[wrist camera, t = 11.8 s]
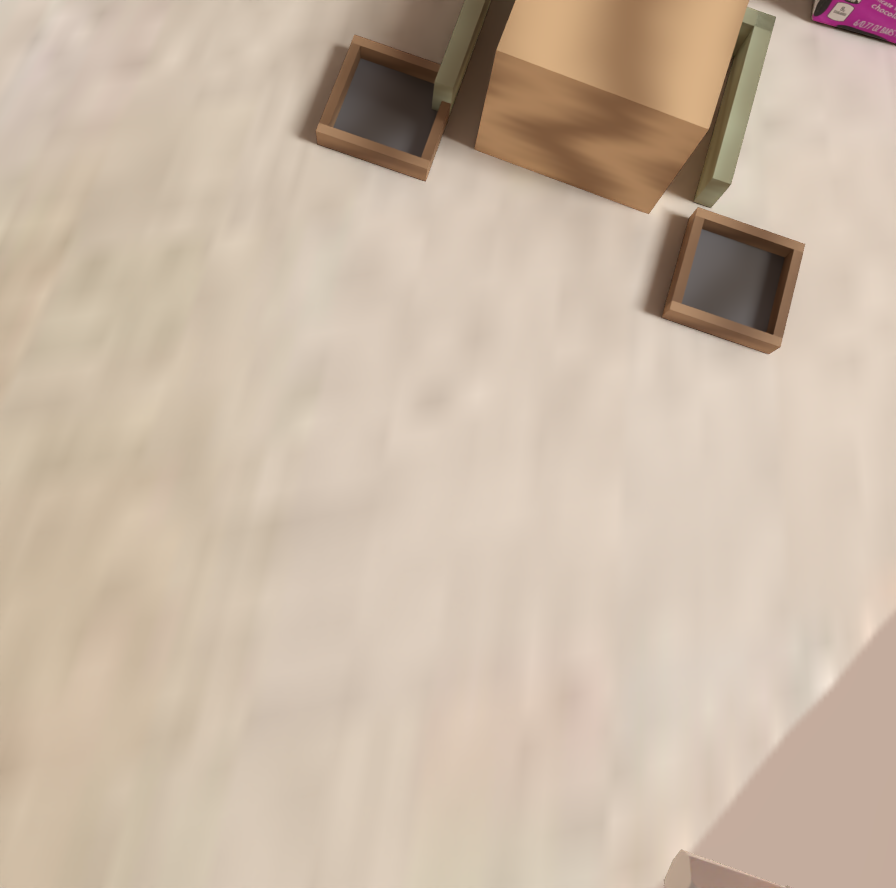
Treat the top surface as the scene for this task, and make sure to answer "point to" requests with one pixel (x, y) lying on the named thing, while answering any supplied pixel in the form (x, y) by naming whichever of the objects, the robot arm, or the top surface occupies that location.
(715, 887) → the robot arm
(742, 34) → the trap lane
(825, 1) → the candy bar box
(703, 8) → the block
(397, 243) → the top surface
